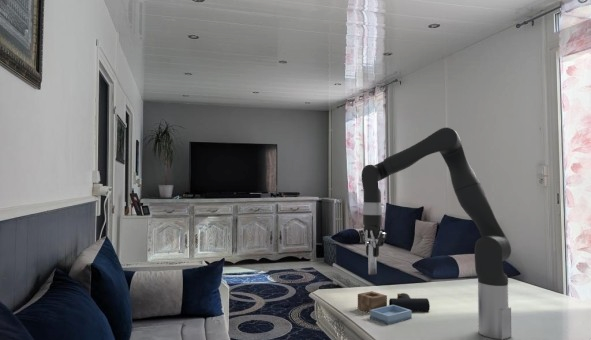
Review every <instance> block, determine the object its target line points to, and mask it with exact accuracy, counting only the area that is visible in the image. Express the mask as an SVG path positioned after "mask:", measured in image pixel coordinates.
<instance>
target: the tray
mask: <svg viewBox="0 0 591 340" xmlns="http://www.w3.org/2000/svg"><path fill="white" fill-rule="evenodd" d="M412 313H413V311H412V310H409V309H406V308H402V307H399V306H396V305H390V306H389V305H387V306H385V307H381V308H377V309H372V310H370V313H369V318H370V319H372V320H373V321H377V322H380V323H383V324H385V325H392V324H396V323H399V322H403V321H407V320H411V319H412V317H413V316H412Z"/></svg>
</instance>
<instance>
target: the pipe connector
mask: <svg viewBox="0 0 591 340" xmlns="http://www.w3.org/2000/svg"><path fill="white" fill-rule="evenodd" d="M390 305H396V306H399V307H402V308H406V309H409V310H412V312H430V306H431V305H430V301H429V298H427V297H426V298H425V297H424V298H423V297H422V298H421V297H420V298H417V297H415V298H414V297H413V298H411V297H410V295H409V294H408V293H406V292H404V293H403V292H402V293H397V297H396V298H394V297H393V298H392V297H391V298H389V300H388V306H390Z"/></svg>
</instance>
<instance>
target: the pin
mask: <svg viewBox="0 0 591 340" xmlns="http://www.w3.org/2000/svg"><path fill="white" fill-rule="evenodd" d="M373 248H374V247H373V243H371V244H368V257H367V258H368V262H367V263H368V275H371V276H372V275H377V257H374V256H373Z"/></svg>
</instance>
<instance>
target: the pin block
mask: <svg viewBox="0 0 591 340" xmlns="http://www.w3.org/2000/svg"><path fill="white" fill-rule="evenodd" d="M385 306H388V295H386V294H383V293H380V292H379V293H378V292H376V291H374V290H372V291H366V292H361V293H358V294H357V310H359V309H360V310H359V311H362V310H363V312H365V311H366V313H368V312H369V313H368V314H370V310H372V309H377V308H381V307H385Z"/></svg>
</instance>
